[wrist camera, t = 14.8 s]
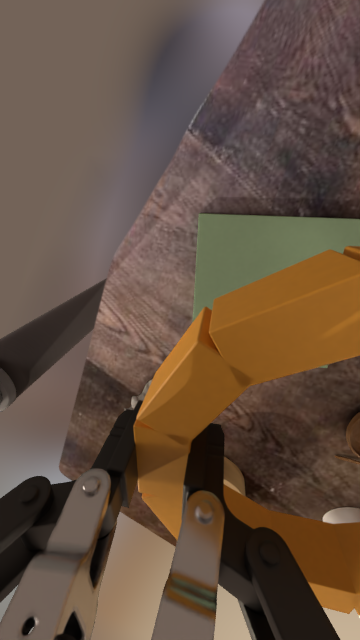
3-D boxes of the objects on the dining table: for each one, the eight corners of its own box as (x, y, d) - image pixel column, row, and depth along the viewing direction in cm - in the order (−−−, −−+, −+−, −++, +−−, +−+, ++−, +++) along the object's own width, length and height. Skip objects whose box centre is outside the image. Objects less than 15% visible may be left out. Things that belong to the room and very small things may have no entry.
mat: (191, 349, 34) (191, 351, 34) (199, 213, 27) (198, 213, 26) (325, 365, 32) (327, 368, 31) (376, 219, 24) (380, 219, 24)
